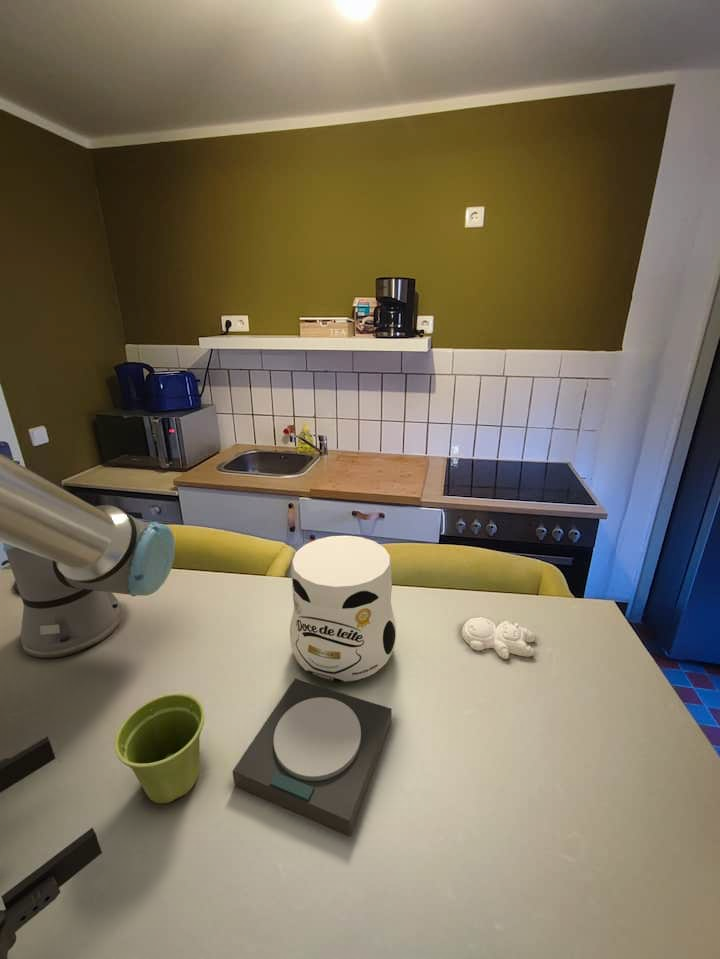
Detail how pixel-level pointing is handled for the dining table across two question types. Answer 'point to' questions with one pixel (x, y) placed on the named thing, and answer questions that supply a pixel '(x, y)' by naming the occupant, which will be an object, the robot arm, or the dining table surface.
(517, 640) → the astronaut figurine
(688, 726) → the dining table surface
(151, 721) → the plant pot
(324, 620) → the milk container
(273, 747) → the scale
